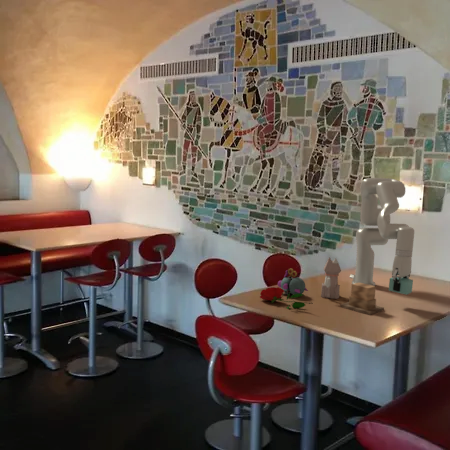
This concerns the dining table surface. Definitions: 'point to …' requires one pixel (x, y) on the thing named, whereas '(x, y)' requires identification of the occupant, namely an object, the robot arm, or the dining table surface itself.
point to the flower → (276, 294)
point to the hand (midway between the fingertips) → (400, 289)
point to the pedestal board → (371, 311)
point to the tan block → (363, 291)
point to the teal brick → (402, 285)
